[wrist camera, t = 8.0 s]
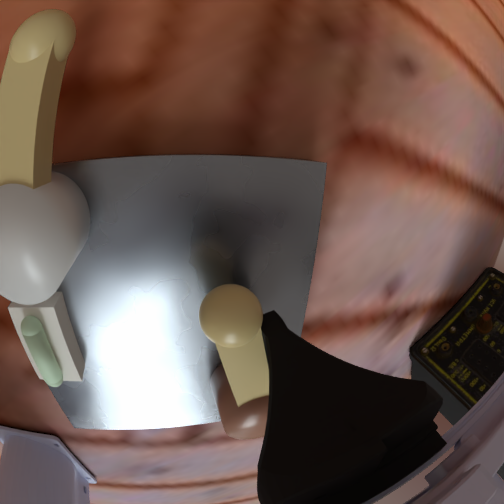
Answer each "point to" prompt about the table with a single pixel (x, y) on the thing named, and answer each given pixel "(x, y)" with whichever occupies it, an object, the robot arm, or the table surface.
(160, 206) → the levelling plate
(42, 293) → the footscrew grey
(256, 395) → the beige knobbed bar
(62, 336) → the bubble vial
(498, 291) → the voltmeter
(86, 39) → the table surface
